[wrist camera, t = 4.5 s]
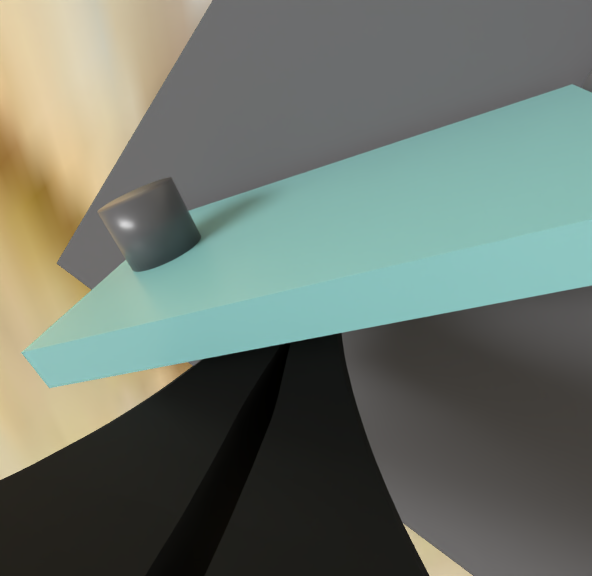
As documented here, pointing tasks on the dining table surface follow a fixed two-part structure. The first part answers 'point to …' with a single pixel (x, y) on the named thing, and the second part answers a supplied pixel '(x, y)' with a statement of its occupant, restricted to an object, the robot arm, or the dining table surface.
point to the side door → (342, 245)
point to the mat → (422, 331)
